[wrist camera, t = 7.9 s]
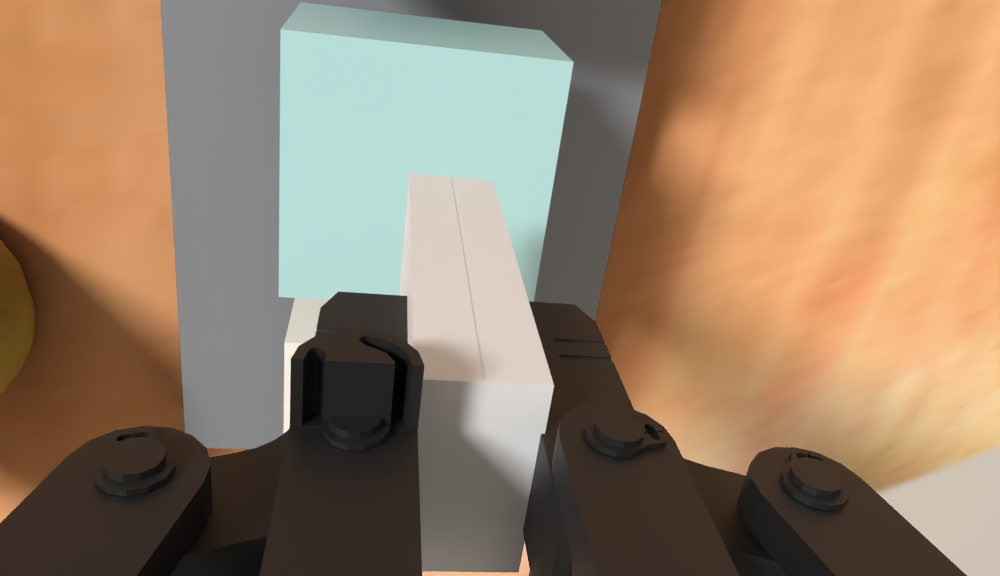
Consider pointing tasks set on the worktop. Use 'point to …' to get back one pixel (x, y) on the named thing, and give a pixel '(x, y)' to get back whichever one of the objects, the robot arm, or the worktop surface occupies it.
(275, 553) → the robot arm
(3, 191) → the worktop surface
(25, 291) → the mug
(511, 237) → the teal key
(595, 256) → the console
